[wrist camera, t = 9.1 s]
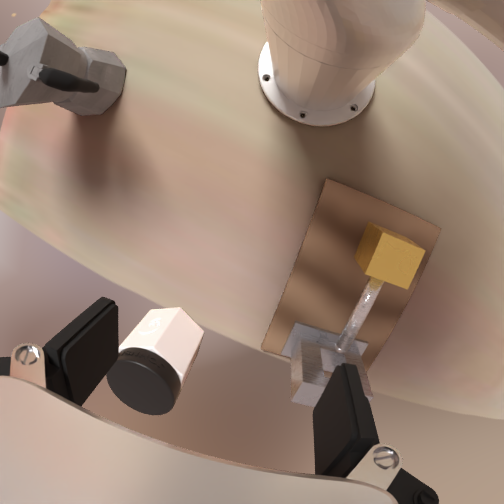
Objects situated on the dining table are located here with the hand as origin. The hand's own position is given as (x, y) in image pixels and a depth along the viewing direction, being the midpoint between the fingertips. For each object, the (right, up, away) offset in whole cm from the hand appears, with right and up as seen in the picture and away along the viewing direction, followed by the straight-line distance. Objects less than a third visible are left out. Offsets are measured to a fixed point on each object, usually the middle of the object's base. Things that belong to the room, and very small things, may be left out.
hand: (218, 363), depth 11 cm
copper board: (+13, 0, +22) cm, 26 cm away
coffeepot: (-17, +25, +18) cm, 36 cm away
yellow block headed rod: (+13, +1, +19) cm, 23 cm away
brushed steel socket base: (+11, -7, +25) cm, 28 cm away
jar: (-9, -6, +27) cm, 29 cm away
